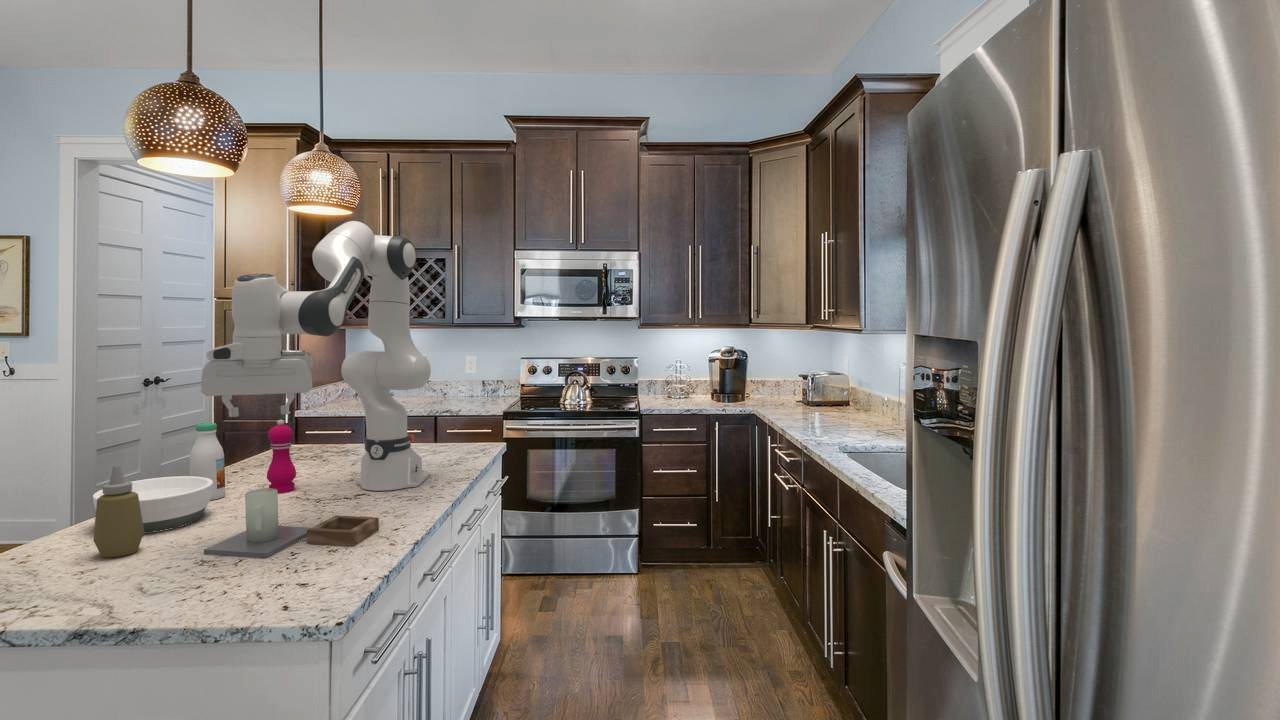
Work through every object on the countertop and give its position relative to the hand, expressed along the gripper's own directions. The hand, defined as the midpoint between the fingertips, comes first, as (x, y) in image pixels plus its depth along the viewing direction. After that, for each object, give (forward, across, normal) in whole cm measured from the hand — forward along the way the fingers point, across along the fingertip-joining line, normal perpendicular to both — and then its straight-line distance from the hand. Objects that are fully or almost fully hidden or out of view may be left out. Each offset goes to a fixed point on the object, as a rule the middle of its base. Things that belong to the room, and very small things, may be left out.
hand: (259, 415), depth 136 cm
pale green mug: (+27, 0, +1) cm, 27 cm away
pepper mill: (+28, +1, -46) cm, 54 cm away
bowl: (+28, +25, -25) cm, 45 cm away
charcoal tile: (+28, 0, 0) cm, 28 cm away
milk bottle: (+28, +18, -44) cm, 55 cm away
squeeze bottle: (+28, +26, -3) cm, 38 cm away
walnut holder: (+28, -16, +2) cm, 32 cm away
